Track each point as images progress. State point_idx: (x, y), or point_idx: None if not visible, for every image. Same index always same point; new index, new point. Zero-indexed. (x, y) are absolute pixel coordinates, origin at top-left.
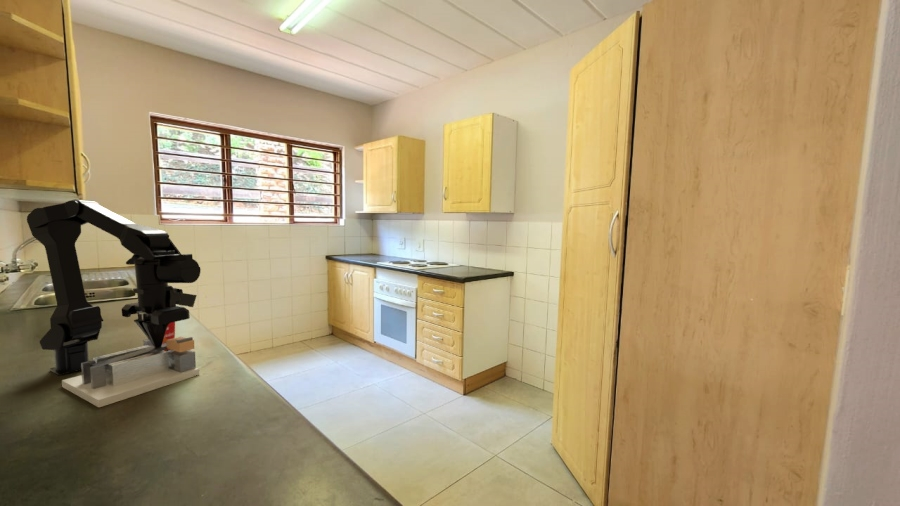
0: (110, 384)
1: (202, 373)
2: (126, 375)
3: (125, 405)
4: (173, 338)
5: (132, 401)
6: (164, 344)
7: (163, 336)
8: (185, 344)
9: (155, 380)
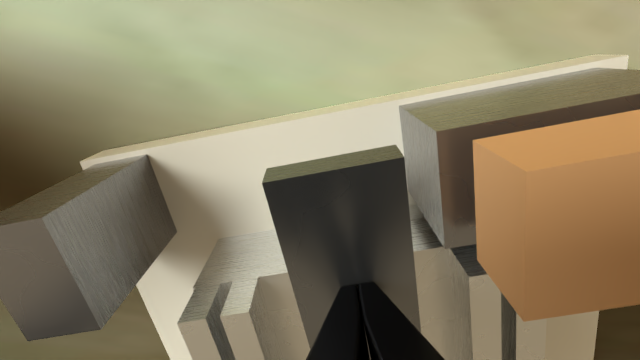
0: None
1: (587, 31)
2: None
3: (635, 349)
4: (532, 257)
5: (621, 331)
6: (337, 252)
7: (435, 352)
8: None
9: None
